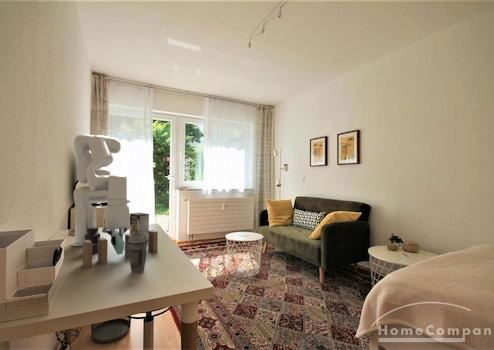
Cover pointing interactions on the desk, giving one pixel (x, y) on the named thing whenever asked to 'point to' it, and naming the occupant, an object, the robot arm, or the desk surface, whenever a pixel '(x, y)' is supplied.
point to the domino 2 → (102, 250)
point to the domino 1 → (87, 253)
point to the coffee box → (142, 222)
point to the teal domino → (118, 243)
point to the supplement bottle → (93, 238)
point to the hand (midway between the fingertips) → (116, 244)
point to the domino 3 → (127, 245)
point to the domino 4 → (152, 241)
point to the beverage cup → (137, 250)
